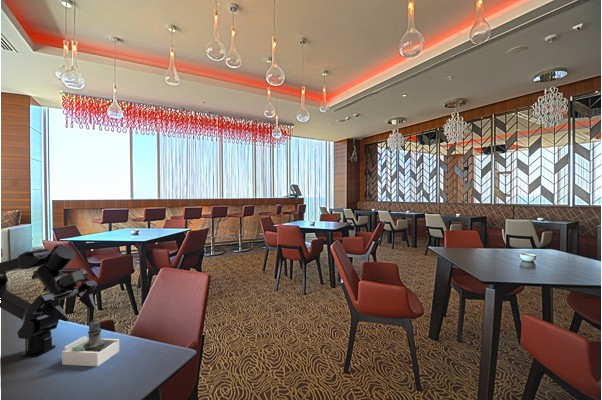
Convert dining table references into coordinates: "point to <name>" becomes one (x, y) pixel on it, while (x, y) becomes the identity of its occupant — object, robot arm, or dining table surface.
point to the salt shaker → (94, 337)
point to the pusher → (80, 346)
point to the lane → (89, 353)
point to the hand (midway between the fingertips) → (81, 314)
